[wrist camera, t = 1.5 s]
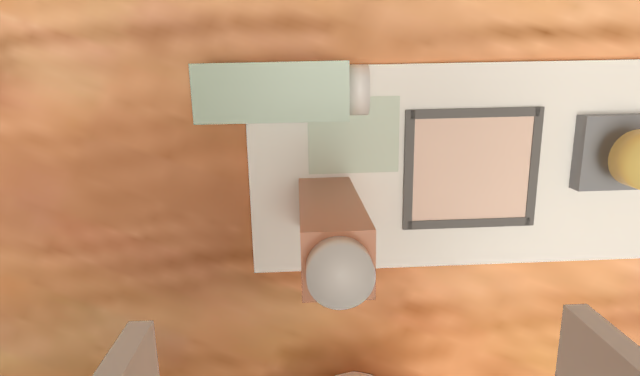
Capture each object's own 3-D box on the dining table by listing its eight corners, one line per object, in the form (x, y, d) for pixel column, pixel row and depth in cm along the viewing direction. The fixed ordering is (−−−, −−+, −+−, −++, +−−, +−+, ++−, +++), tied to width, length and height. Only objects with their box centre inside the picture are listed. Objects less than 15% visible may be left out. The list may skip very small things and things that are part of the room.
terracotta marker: (300, 226, 32) (302, 315, 21) (298, 178, 32) (300, 242, 20) (349, 224, 33) (380, 312, 21) (349, 176, 32) (381, 239, 20)
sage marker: (207, 119, 30) (193, 124, 27) (203, 64, 30) (188, 63, 26) (365, 115, 30) (370, 121, 27) (365, 61, 30) (370, 59, 26)
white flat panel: (255, 268, 34) (252, 280, 32) (244, 67, 30) (240, 66, 28) (633, 253, 35) (652, 264, 33) (662, 59, 32) (686, 58, 30)
